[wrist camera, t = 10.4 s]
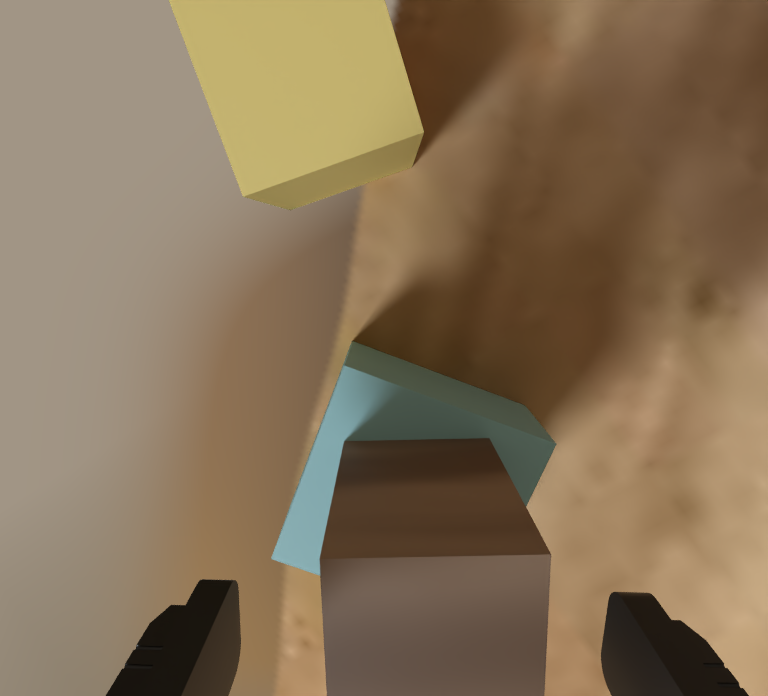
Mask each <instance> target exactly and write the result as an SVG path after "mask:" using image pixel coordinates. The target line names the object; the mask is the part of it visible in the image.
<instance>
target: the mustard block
mask: <svg viewBox="0 0 768 696" xmlns="http://www.w3.org/2000/svg"><path fill="white" fill-rule="evenodd" d="M169 2H170V4H171V7H172V10H173V13H174V15H175V18H176V20H177V23H178V26H179V29H180V31H181V34H182V36H183V39H184V42H185V44H186V47H187V50H188V52H189V55H190V58H191V60H192V63H193V66H194V68H195V71H196V73H197V76H198V79H199V81H200V84H201V86H202V89H203V92H204V95H205V97H206V100H207V103H208V105H209V108H210V111H211V113H212V116H213V118H214V121H215V124H216V126H217V129H218V132H219V134H220V137H221V140H222V142H223V145H224V147H225V150H226V153H227V155H228V158H229V161H230V163H231V166H232V169H233V171H234V174H235V177H236V179H237V182H238V185H239V187H240V190H241V192H242V195H243V197H246V198H250V199H253V200H256V201H260V202H263V203H267V204H270V205H274V206H277V207H281V208H284V209H288V210H292V209H295V208H298V207H301V206H304V205H307V204H309V203H312V202H315V201H318V200H321V199H323V198H326V197H329V196H332V195H335V194H338V193H341V192H343V191H346V190H349V189H352V188H355V187H358V186H361V185H363V184H366V183H369V182H372V181H374V180H377V179H380V178H383V177H386V176H389V175H391V174H394V173H397V172H400V171H403V170H406V169H409V168H411V167H412V166H413V163H414V160H415V157H416V154H417V151H418V148H419V146H420V143H421V140H422V137H423V134H424V130H423V127H422V123H421V120H420V116H419V113H418V110H417V106H416V103H415V100H414V96H413V93H412V90H411V86H410V83H409V80H408V76H407V73H406V70H405V66H404V63H403V60H402V56H401V53H400V50H399V46H398V43H397V40H396V36H395V33H394V30H393V26H392V23H391V20H390V16H389V13H388V9H387V6H386V3H385V0H169Z"/></svg>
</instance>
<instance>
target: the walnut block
mask: <svg viewBox="0 0 768 696" xmlns="http://www.w3.org/2000/svg"><path fill="white" fill-rule="evenodd" d="M319 560H320V578H321V596H322V614H323V632H324V650H325V668H326V686H327V696H544V690H545V669H546V648H547V628H548V607H549V586H550V565H551V554H550V552H549V550H548V548H547V546H546V544H545V542H544V540H543V538H542V537H541V535H540V533H539V531H538V529H537V527H536V525H535V523H534V521H533V520H532V518H531V516H530V514H529V512H528V510H527V508H526V506H525V504H524V502H523V501H522V499H521V497H520V495H519V493H518V491H517V489H516V487H515V485H514V484H513V482H512V480H511V478H510V476H509V474H508V472H507V470H506V468H505V467H504V465H503V463H502V461H501V459H500V457H499V455H498V453H497V451H496V450H495V448H494V446H493V444H492V442H491V440H490V438H469V439H421V440H373V441H344V444H343V448H342V453H341V458H340V463H339V468H338V472H337V477H336V482H335V487H334V492H333V496H332V501H331V506H330V511H329V516H328V520H327V525H326V530H325V535H324V540H323V544H322V549H321V554H320V559H319Z"/></svg>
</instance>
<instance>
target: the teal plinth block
mask: <svg viewBox="0 0 768 696" xmlns="http://www.w3.org/2000/svg"><path fill="white" fill-rule="evenodd" d="M469 438H490V440H491V442H492V444H493V446H494V448H495V450H496V451H497V453H498V455H499V457H500V459H501V461H502V463H503V465H504V467H505V468H506V470H507V472H508V474H509V476H510V478H511V480H512V482H513V484H514V485H515V487H516V489H517V491H518V493H519V495H520V497H521V499H522V501H523V502H524V504H525V506H527V504H528V502H529V499H530V497H531V495H532V493H533V491H534V489H535V487H536V485H537V483H538V481H539V479H540V477H541V475H542V473H543V471H544V469H545V467H546V464H547V462H548V460H549V458H550V456H551V454H552V452H553V450H554V448H555V446H556V443H555V441H554V440H553V439H552V438H551V436H550V435H549V434H548V433H547V432H546V430H545V429H544V428H543V427H542V426H541V424H540V423H539V422H538V421H537V419H536V418H535V417H534V416H533V415H532V413H531V412H530V411H529V410H528V409H527V407H526V406H525V405H522V404H520V403H517V402H514V401H512V400H509V399H506V398H504V397H501V396H498V395H496V394H493V393H490V392H488V391H485V390H482V389H480V388H477V387H474V386H472V385H469V384H466V383H464V382H461V381H458V380H456V379H453V378H450V377H448V376H445V375H442V374H440V373H437V372H434V371H432V370H429V369H426V368H424V367H421V366H418V365H416V364H413V363H410V362H407V361H405V360H402V359H399V358H397V357H394V356H391V355H389V354H386V353H383V352H381V351H378V350H375V349H373V348H370V347H367V346H365V345H362V344H359V343H357V342H354V341H352V343H351V345H350V348H349V351H348V353H347V356H346V359H345V361H344V364H343V367H342V369H341V372H340V375H339V377H338V380H337V383H336V385H335V388H334V391H333V393H332V396H331V399H330V401H329V404H328V407H327V409H326V412H325V415H324V417H323V420H322V422H321V425H320V428H319V430H318V433H317V436H316V438H315V441H314V444H313V446H312V449H311V452H310V454H309V457H308V460H307V462H306V465H305V468H304V470H303V473H302V476H301V478H300V481H299V484H298V486H297V489H296V492H295V494H294V497H293V499H292V502H291V505H290V508H289V511H288V513H287V516H286V519H285V522H284V525H283V527H282V530H281V533H280V536H279V539H278V542H277V544H276V547H275V550H274V553H273V555H272V558H271V559H273V560H276V561H279V562H282V563H285V564H288V565H291V566H293V567H296V568H299V569H302V570H305V571H308V572H311V573H314V574H317V575H320V560H319V559H320V554H321V549H322V544H323V540H324V535H325V530H326V525H327V520H328V516H329V511H330V506H331V501H332V496H333V492H334V487H335V482H336V477H337V472H338V468H339V463H340V458H341V453H342V448H343V444H344V441H373V440H421V439H469Z"/></svg>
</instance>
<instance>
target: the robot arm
mask: <svg viewBox="0 0 768 696" xmlns="http://www.w3.org/2000/svg"><path fill="white" fill-rule="evenodd" d="M240 647H241V635H240V612H239V591H238V584H237V582H236V581H235V580H204V579H203V580H200V581H199V582H198V584H197V586H196V587H195V589H194V591H193V593H192V594H191V596H190V598H189V600H188V602H187V604H186V605H171V606H169V607H168V608H167V609H166V610H165V611H164V612H163V613H161V614H160V615H159V616H158V617H157V618H156V619H154V620H153V621H152V622H151V623H150V624H149V626H148V627H147V629H146V630H145V632H144V634H143V636H142V637H141V639H140V640H139V642H138V644H137V646H136V650H133V652H132V653H131V655H130V657H129V659H128V660H127V662H126V663H125V668H124V669H122V670H121V672H120V673H119V675H118V676H117V678H116V680H115V682H114V683H113V685H112V686H111V688H110V690H109V691H108V693H107V695H106V696H228V695H229V692H230V689H231V686H232V684H233V681H234V677H235V675H236V671H237V667H238V662H239V656H240ZM601 662H602V669H603V674H604V678H605V681H606V684H607V687H608V689H609V691H610V693H611V695H612V696H749V695H748V694H747V693H746V691H745V690H744V689H743V688H740V686H739V682H738V681H737V680H736V679H735V677H734V676H733V675H732V673H731V672H730V671H729V669H728V668H725V667H724V663H723V662H722V660H721V659H720V658H719V657H718V655H717V654H716V653H715V651H714V650H713V649H712V647H711V646H710V645H709V644H708V642H707V641H706V640H705V639H704V638H702V637H701V636H700V635H699V634H697V633H696V632H695V631H694V630H692V629H691V628H690V627H688V626H687V625H686V624H685V623H683V622H682V621H681V620H671V619H670V618H669V616H668V615H667V613H666V612H665V611H664V609H663V608H662V607H661V605H660V604H659V602H658V601H657V600H656V598H655V597H654V596H653V595H652V594H650V593H634V592H613V593H611V595H610V597H609V601H608V608H607V615H606V622H605V629H604V636H603V643H602V650H601Z"/></svg>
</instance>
